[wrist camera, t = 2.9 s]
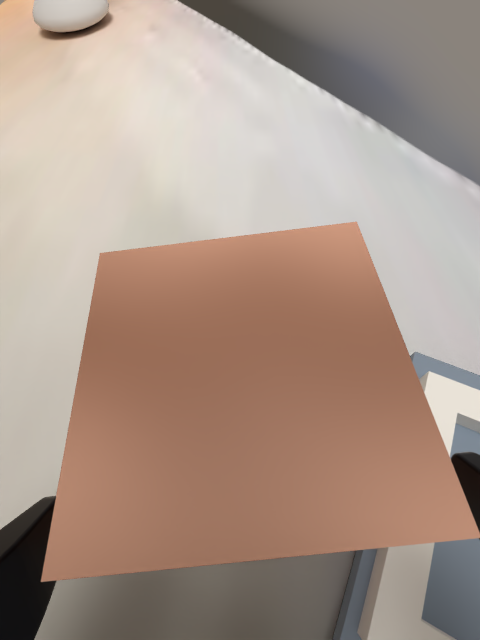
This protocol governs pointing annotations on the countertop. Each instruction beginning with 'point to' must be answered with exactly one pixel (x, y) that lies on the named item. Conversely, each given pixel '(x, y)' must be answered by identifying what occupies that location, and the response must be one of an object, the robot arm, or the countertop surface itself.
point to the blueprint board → (423, 559)
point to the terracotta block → (246, 412)
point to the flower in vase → (68, 14)
